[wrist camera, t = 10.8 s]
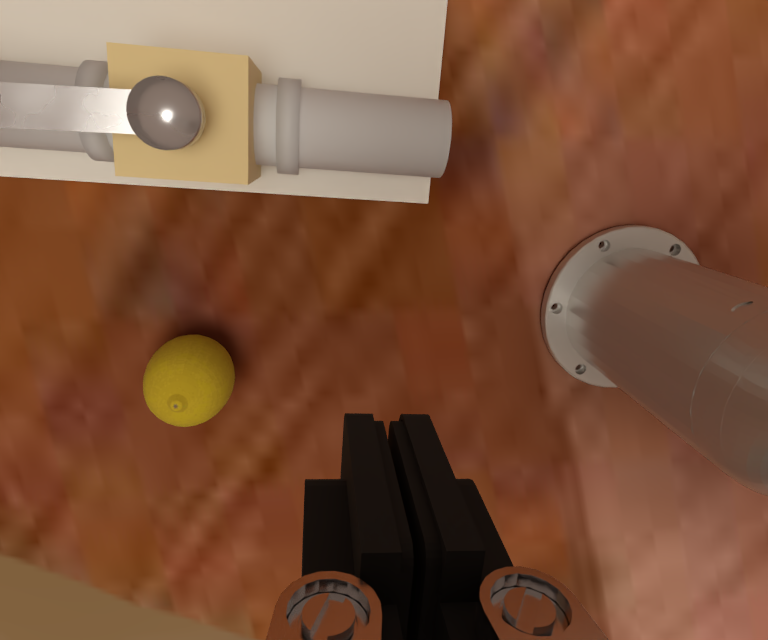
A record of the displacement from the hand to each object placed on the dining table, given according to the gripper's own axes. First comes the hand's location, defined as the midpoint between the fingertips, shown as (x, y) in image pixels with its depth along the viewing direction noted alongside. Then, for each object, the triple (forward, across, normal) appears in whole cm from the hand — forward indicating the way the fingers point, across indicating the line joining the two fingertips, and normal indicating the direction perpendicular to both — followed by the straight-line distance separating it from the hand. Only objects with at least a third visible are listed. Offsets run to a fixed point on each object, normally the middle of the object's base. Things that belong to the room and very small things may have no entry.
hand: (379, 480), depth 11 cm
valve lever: (+18, +14, -7) cm, 24 cm away
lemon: (+29, +9, +9) cm, 32 cm away
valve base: (+29, +8, -9) cm, 31 cm away
